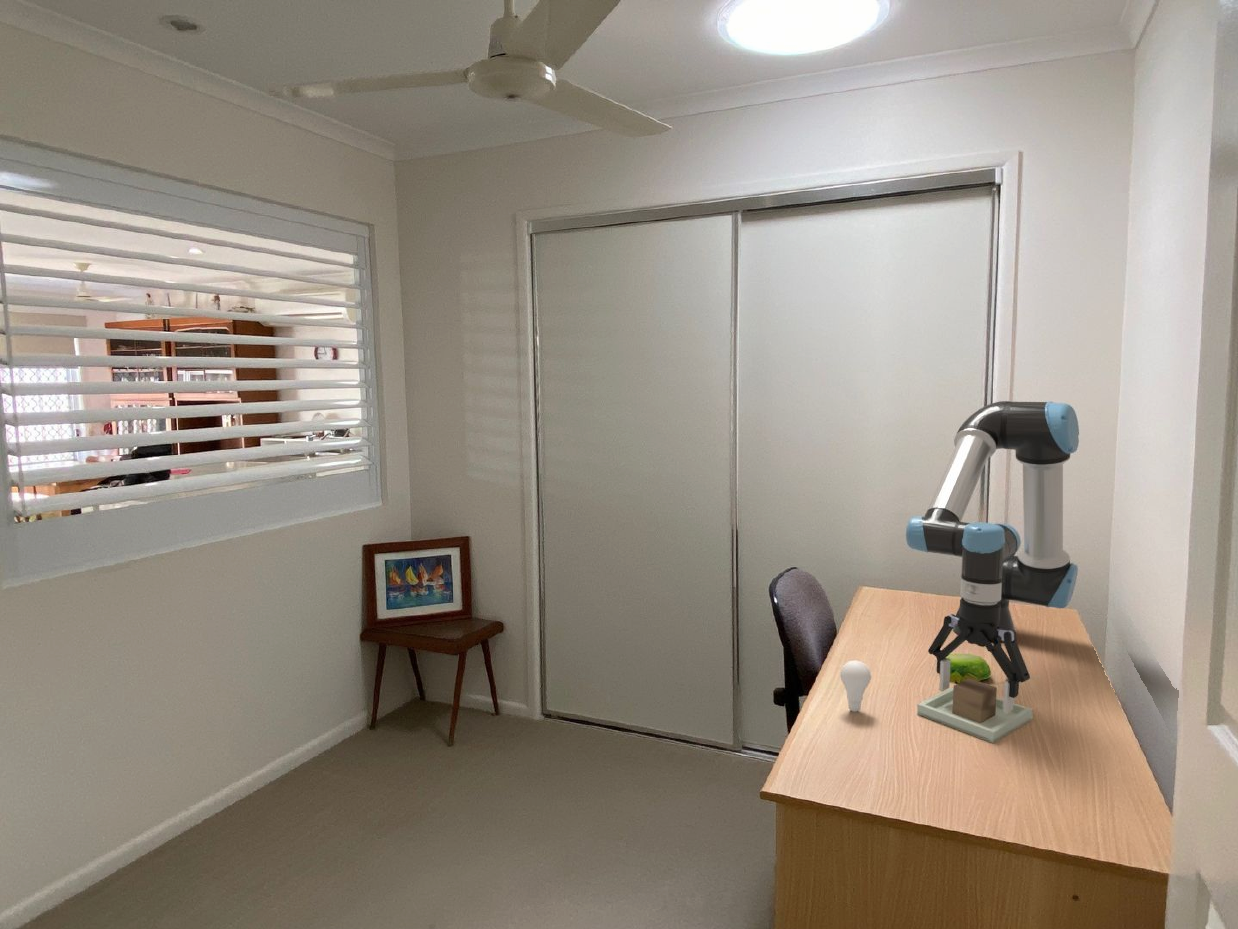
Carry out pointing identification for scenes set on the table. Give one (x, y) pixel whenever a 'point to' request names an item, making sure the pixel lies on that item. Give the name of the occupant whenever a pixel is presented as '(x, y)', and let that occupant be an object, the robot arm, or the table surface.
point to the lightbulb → (855, 682)
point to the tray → (989, 730)
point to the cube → (974, 700)
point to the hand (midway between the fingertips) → (975, 700)
